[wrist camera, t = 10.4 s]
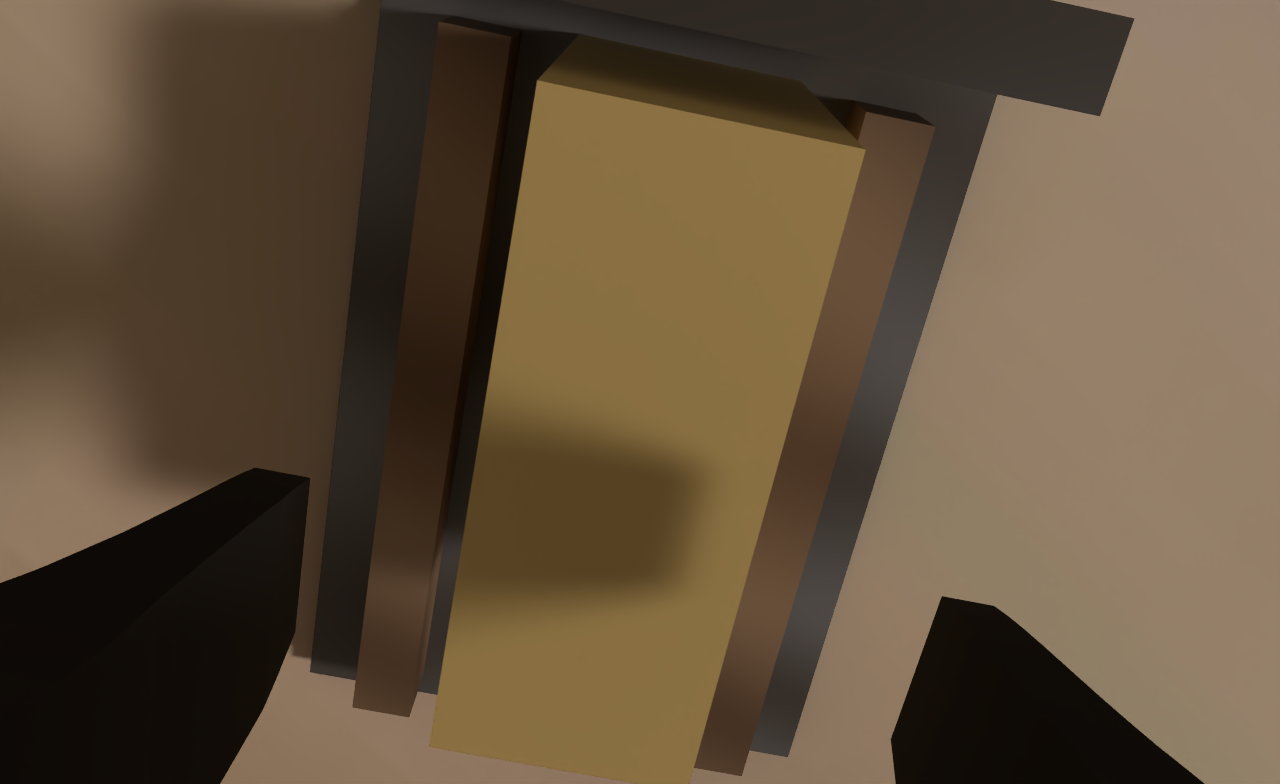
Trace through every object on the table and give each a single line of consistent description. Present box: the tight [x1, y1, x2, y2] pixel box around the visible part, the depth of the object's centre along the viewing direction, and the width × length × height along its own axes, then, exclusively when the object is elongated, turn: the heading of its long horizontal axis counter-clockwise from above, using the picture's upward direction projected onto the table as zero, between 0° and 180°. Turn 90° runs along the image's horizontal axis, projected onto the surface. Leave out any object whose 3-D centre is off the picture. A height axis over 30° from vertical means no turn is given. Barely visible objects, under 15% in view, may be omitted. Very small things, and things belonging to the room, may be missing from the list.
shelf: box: [310, 0, 1134, 776], centre depth 19 cm, size 17×11×6 cm, turn 169°
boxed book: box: [429, 34, 866, 784], centre depth 18 cm, size 10×4×7 cm, turn 169°
